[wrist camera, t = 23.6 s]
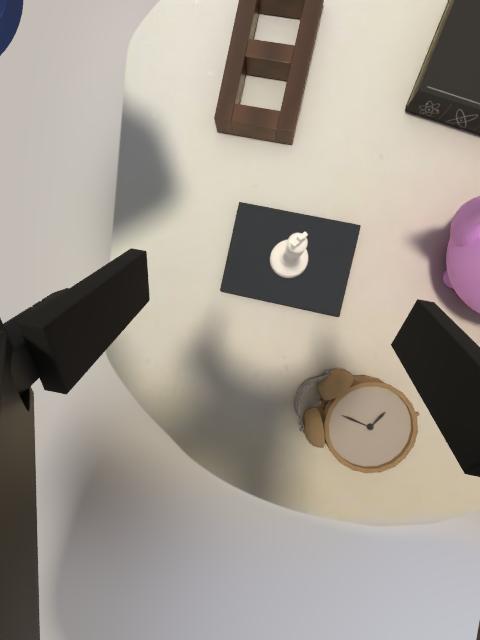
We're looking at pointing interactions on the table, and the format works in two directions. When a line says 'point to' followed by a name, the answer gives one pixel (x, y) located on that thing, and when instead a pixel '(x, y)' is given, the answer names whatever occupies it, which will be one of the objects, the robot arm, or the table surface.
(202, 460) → the table surface
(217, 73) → the table surface
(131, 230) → the table surface
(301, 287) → the mat
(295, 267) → the chess piece
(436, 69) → the book
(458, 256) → the teapot
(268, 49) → the holder
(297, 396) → the alarm clock
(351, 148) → the table surface
